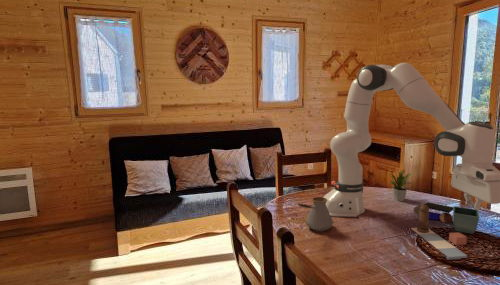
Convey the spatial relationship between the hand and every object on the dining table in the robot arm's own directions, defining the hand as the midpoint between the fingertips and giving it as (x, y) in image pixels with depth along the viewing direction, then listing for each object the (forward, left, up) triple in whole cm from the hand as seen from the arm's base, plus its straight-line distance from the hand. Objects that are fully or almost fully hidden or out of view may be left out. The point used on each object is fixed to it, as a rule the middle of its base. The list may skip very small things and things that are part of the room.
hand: (472, 207), depth 118 cm
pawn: (-7, +17, -16) cm, 24 cm away
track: (-7, +8, -17) cm, 20 cm away
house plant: (+4, +55, -17) cm, 58 cm away
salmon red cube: (0, +6, -17) cm, 18 cm away
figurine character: (+5, +29, -17) cm, 34 cm away
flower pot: (+10, +16, -17) cm, 26 cm away
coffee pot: (-51, +24, -17) cm, 59 cm away
